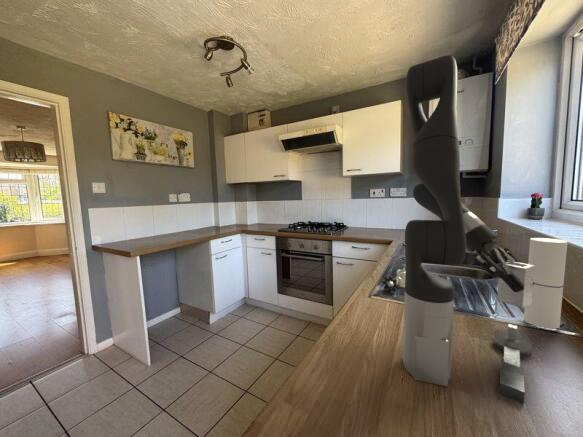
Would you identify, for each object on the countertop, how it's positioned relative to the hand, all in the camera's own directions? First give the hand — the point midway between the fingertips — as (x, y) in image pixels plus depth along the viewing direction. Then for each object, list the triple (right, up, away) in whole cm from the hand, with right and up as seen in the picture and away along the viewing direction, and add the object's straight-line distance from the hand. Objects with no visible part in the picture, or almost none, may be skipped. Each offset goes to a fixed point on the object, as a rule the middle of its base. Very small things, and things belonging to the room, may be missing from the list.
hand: (525, 288), depth 56 cm
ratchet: (-6, -16, -3) cm, 18 cm away
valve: (-12, -13, +41) cm, 45 cm away
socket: (-1, -4, +2) cm, 5 cm away
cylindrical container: (+18, -15, +13) cm, 26 cm away
